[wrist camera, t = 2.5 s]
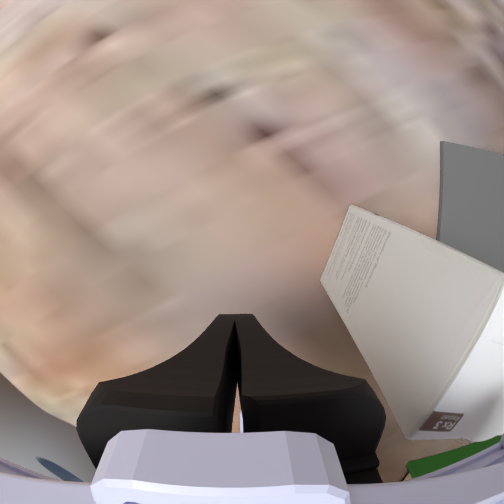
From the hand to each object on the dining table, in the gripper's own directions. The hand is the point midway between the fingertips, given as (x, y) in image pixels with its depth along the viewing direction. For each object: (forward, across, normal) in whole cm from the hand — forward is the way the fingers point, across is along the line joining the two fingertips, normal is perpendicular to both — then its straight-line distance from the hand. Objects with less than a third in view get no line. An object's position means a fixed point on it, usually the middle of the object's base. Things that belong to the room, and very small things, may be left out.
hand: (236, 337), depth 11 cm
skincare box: (+10, -10, 0) cm, 14 cm away
